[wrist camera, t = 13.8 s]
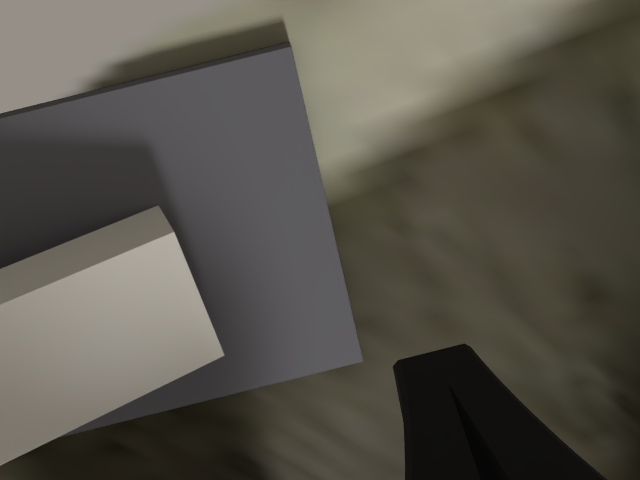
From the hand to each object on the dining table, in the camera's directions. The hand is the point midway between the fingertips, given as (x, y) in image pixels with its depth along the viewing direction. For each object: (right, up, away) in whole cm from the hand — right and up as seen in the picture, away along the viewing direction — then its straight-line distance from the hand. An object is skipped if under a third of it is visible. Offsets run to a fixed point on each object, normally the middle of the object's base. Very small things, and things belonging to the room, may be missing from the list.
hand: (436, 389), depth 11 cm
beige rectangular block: (-5, +2, +4) cm, 7 cm away
